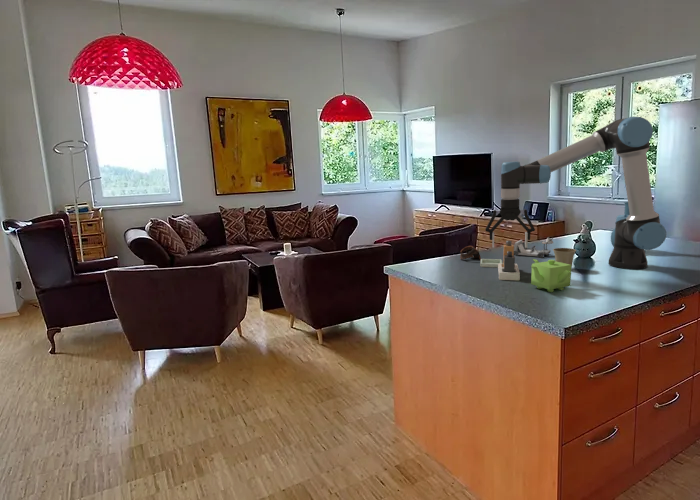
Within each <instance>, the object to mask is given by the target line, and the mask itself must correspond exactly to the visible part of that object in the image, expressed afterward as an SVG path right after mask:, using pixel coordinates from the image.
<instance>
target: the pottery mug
mask: <svg viewBox="0 0 700 500" xmlns="http://www.w3.org/2000/svg"><path fill="white" fill-rule="evenodd" d="M464 252H465V253H464ZM459 253H460V260H461V261H462V260H467V259H469V258H473V259H478V260H480V261H481V259H482V258H481V257H482V256H481V253H480V251H479V250H478V249H477V248H476V247H474V246H473V245H468V246H465V247H463V248H462V249H461V250H460V252H459Z"/></svg>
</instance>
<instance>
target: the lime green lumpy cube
mask: <svg viewBox="0 0 700 500" xmlns="http://www.w3.org/2000/svg"><path fill="white" fill-rule="evenodd" d="M532 261H534V262H532V263H531V266H530V268H531V278H530V279H531V281H530V285H533V286H535V288H536V289H539V290H540V289H545V290H546V291H547V292H548V293H554V290H556V289H558V290H559V291H565V288H567V287H571V281H572V268H571V266H573V264H572V265H570V264H565V263H561V262H557V261H555V259H548V260H547V261H541V262H540V261H539V260H538V259H535V258H532Z"/></svg>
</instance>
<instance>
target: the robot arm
mask: <svg viewBox="0 0 700 500" xmlns="http://www.w3.org/2000/svg"><path fill="white" fill-rule="evenodd" d="M653 133H654V129H653V126H652V124H651V122H650V121H649V120H648V119H646V118H644V117H641V116H629V117H625V118H620V119H615V120H614V121H612V122H610V123H608V124H607V125H606V126H603V127H601V128H599V129H598V130H595V131H593V133H592V134H591V135H590V136H587V137H586V138H583V139H582V140H578V141H577V142H575V143H572V144H570V145H568V146H566V147H563V148H561V149H559V150H557V151H555V152H552V153H550V154H547V155H546V156H543V157H542V158H539V159H536V160H534V161H532V162H531V163H528V164H524V165H521V163H520V161H504V162H502V164H501V171H500V187H501V188H500V198H501V199H500V209H499V210H496V209H493V212H492V216H491V218H490V219H489V221H488V223H487V225H486V227H485V229H484V231H485V232H488V234H489V241H491V244H492V245H491V247H492V249H494V248H495V231H496V229H497V228H498V227H499V226H500V224H501V223H502V222H503V221H504V220H505V221H515V220H516V221H517V222H518V223H519V224H520V225H521V226H522V227H523V228H524V230H525V232H524V235H525V236H524V237H525V238H524V243H525V248H528V241H531V233H532V232H535V231H536V229H535V227H534V226H535V225H533V223H532V221H531V219H530V217H529V215H528V210H527V209H526V208H525V209H520V196H521V195H520V192H521V191H520V190H521V189H520V188H521V186H520V185H527V184H530V185H531V184H534V185H535V184H540V185H541V184H546V183H549V182H550V180H551V175H552V174H551V173H553V172H555V171H558V170H560V169H562V168H565V167H567V166H569V165H571V164H574V163H576V162H579V161H580V160H583V159H585V158H586V157H590V156H592V155H595V154H596V153H599V152H601V153H604V152H607V151H609V150H612V149H615V151H616V156H619V157H620V158H621V163H622V170H623V176H624V183H625V189H626V190H625V191H626V198H627V202H628V205H629V212H630V215H624V214H619V215H617V216H616V218H615V225H614V226H615V227H614V229H615V241H614V247H613V249H612V251H611V254H610V257H608V265H609V266H611V267H614V268H618V269H627V270H628V269H629V270H641V269H642V270H643V269H646V268H647V267H648V259H647V256H646V251H645V250H647V251H652V250H654V249H658V248H659V247H660V246H661V245H662V244H663V243H665V240H666V238H667V229H666V228H665V226H663V224H661V221H660V220H661V219H660V215H659V213H657V212H656V211H655V209H654V202H653V195H652V193H653V192H652V189H651V188H652V187H651V181H650V180H651V179H650V173H649V165H648V157H647V152H648V151H649V150H650V148H651V147H650V140H651V138H652V137H653ZM499 214H500V216H501V217H499V219H498V220H497V221H496V222H495V223H494V224H493V222H494V220H495V218H496V217H497V216H498V215H499ZM520 214H522V215H523V216H524V217H525V219H526V222H527V223H528V225H529V227H530V228H529V227H528V226H527V225H526V223H524V221H523V220H522V219H521V218H520V217H519V216H520ZM492 224H493V226H492ZM491 226H492V227H491Z"/></svg>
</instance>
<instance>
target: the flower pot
mask: <svg viewBox="0 0 700 500" xmlns="http://www.w3.org/2000/svg"><path fill="white" fill-rule="evenodd" d="M552 251H553V254H554V260H555V261H557V262H561V263H565V264H570V265H572V266H573V261H574V257H575V254H576V252H577V249H575V248H572V247H571V248H570V247H556V248H553V249H552ZM572 266H571V269H572V268H573V267H572Z"/></svg>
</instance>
